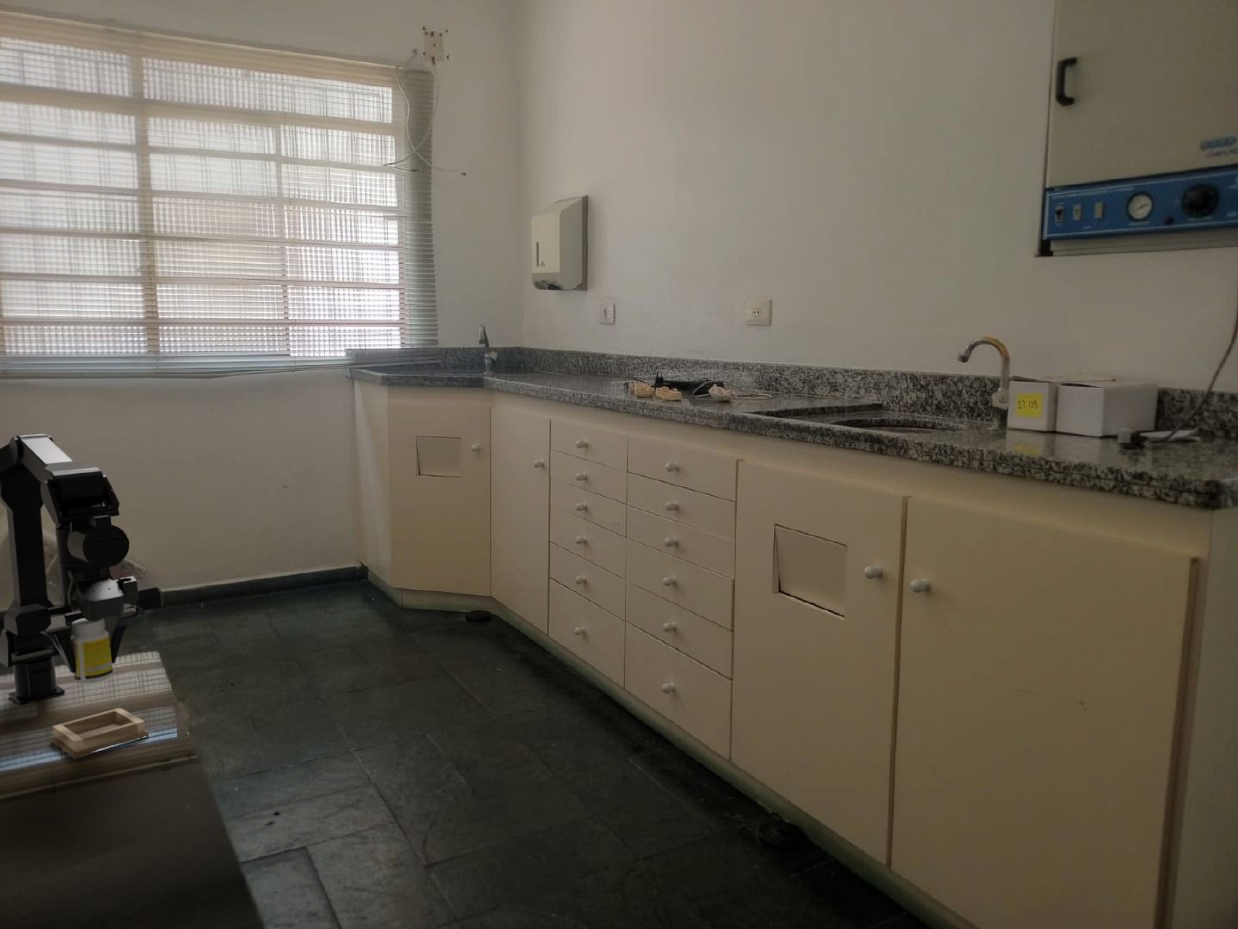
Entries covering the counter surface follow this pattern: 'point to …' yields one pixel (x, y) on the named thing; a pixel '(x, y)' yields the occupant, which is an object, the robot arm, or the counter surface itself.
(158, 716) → the counter surface
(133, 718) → the jig cradle
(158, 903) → the counter surface
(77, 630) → the supplement bottle
